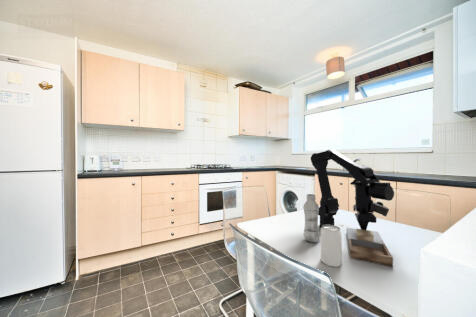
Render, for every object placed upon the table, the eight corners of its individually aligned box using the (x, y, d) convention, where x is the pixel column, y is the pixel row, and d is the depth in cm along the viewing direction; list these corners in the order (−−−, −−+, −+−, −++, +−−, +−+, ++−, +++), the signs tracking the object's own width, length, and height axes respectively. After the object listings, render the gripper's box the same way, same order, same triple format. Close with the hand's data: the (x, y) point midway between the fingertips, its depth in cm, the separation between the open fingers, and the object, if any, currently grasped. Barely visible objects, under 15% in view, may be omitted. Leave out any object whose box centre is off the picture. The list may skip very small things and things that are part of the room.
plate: (348, 245, 77) (348, 238, 77) (346, 233, 89) (346, 227, 89) (385, 252, 71) (384, 244, 71) (377, 238, 83) (377, 231, 83)
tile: (357, 239, 76) (356, 232, 76) (356, 234, 81) (355, 228, 81) (373, 241, 73) (373, 235, 73) (371, 236, 78) (371, 230, 78)
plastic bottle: (318, 238, 83) (318, 194, 84) (320, 245, 77) (319, 196, 77) (303, 236, 86) (303, 193, 86) (303, 243, 79) (303, 195, 79)
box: (350, 258, 67) (350, 249, 67) (348, 245, 76) (348, 238, 76) (392, 266, 61) (392, 257, 61) (385, 252, 71) (385, 244, 71)
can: (317, 257, 67) (316, 224, 67) (334, 256, 68) (334, 223, 68) (327, 268, 61) (327, 231, 61) (346, 267, 61) (345, 230, 61)
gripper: (393, 202, 68) (393, 245, 68) (381, 193, 85) (382, 228, 85) (357, 199, 73) (357, 239, 73) (352, 192, 90) (353, 224, 90)
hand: (363, 232), depth 80 cm, fingers closed
